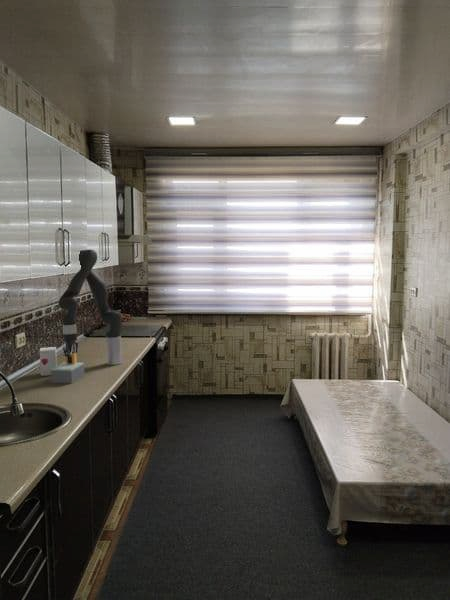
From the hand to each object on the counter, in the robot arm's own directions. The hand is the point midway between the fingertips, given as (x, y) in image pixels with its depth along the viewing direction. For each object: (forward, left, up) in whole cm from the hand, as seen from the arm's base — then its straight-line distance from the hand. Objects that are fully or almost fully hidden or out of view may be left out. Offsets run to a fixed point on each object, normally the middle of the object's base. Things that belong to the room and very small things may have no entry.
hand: (71, 362), depth 293 cm
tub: (+5, 0, -9) cm, 10 cm away
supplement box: (-6, -18, -9) cm, 21 cm away
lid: (+5, 0, -3) cm, 6 cm away
